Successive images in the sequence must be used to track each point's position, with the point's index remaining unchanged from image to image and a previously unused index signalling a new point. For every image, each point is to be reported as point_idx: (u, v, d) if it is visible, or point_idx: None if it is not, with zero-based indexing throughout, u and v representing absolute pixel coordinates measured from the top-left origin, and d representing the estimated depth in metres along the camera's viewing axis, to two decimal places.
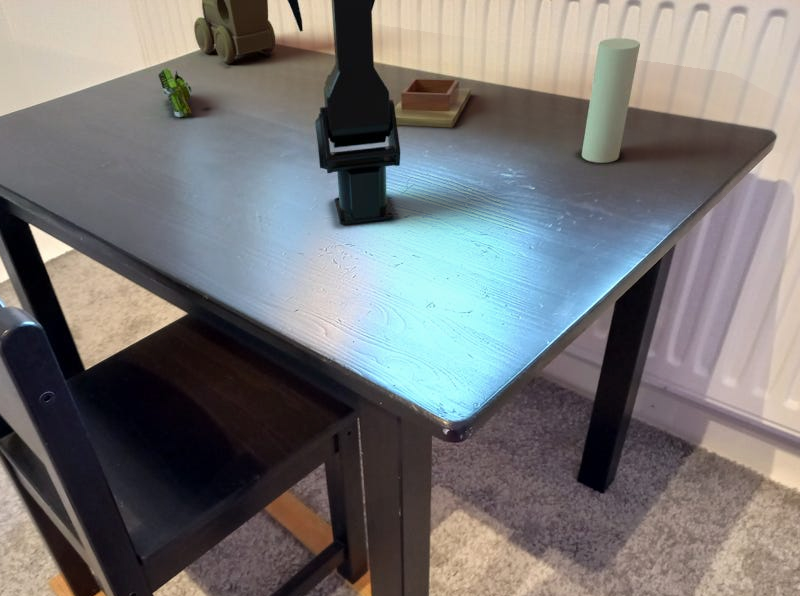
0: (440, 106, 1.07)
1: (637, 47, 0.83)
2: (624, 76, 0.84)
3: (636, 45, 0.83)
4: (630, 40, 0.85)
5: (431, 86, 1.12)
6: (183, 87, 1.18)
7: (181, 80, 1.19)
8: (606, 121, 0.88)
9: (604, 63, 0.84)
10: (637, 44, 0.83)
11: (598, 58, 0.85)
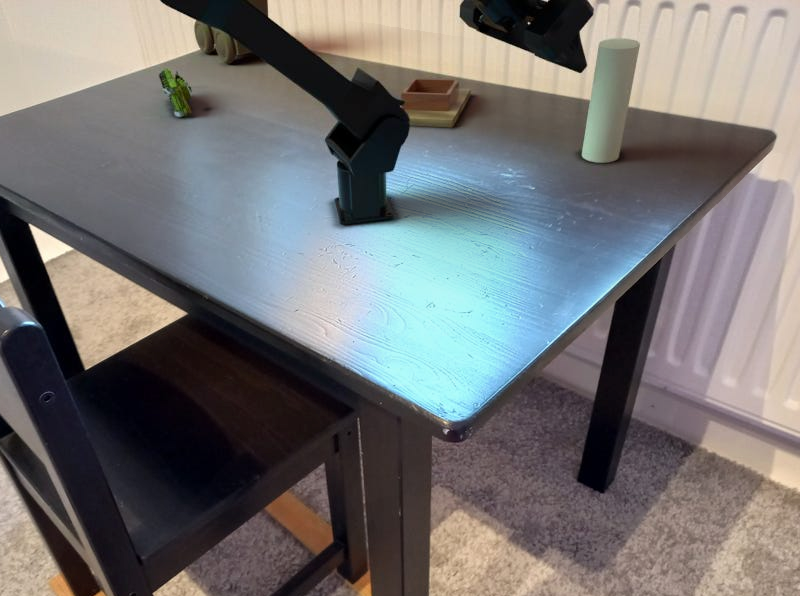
0: (440, 106, 1.07)
1: (637, 47, 0.83)
2: (624, 76, 0.84)
3: (636, 45, 0.83)
4: (630, 40, 0.85)
5: (431, 86, 1.12)
6: (183, 87, 1.18)
7: (181, 80, 1.19)
8: (606, 121, 0.88)
9: (604, 63, 0.84)
10: (637, 44, 0.83)
11: (598, 58, 0.85)
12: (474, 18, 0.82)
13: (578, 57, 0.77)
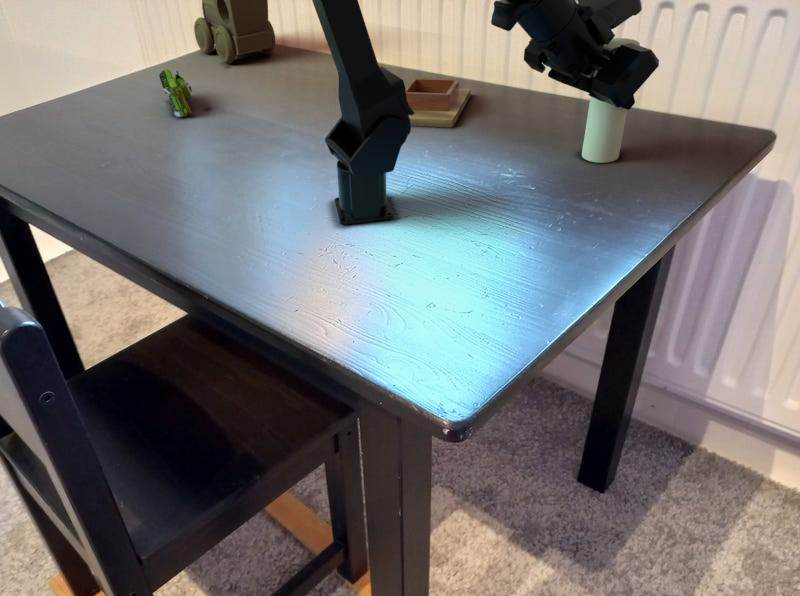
0: (440, 106, 1.07)
1: None
2: None
3: None
4: (630, 40, 0.85)
5: (431, 86, 1.12)
6: (183, 87, 1.18)
7: (181, 80, 1.19)
8: (606, 121, 0.88)
9: None
10: (637, 44, 0.83)
11: None
12: (539, 62, 0.88)
13: None
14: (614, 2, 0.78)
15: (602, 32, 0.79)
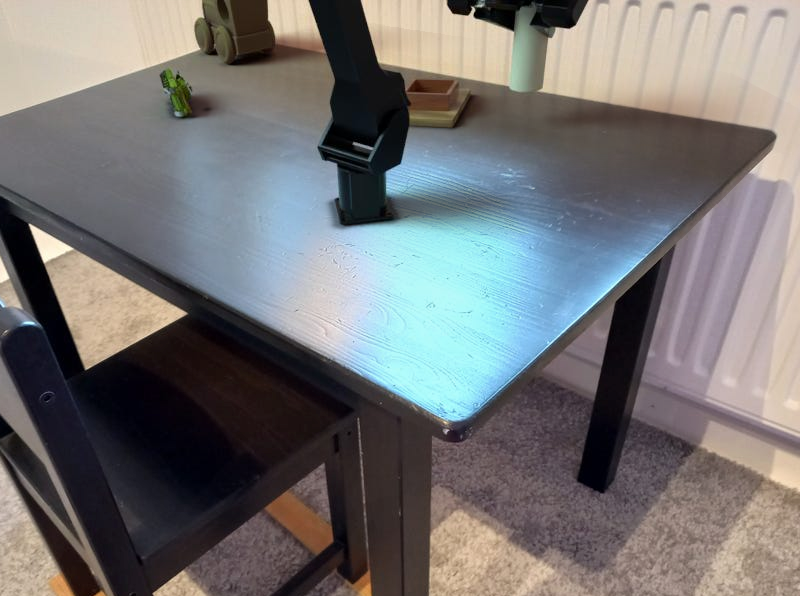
0: (440, 106, 1.07)
1: None
2: None
3: None
4: None
5: (431, 86, 1.12)
6: (184, 87, 1.18)
7: (182, 80, 1.19)
8: (535, 51, 0.95)
9: None
10: None
11: None
12: (468, 4, 0.93)
13: None
14: None
15: None
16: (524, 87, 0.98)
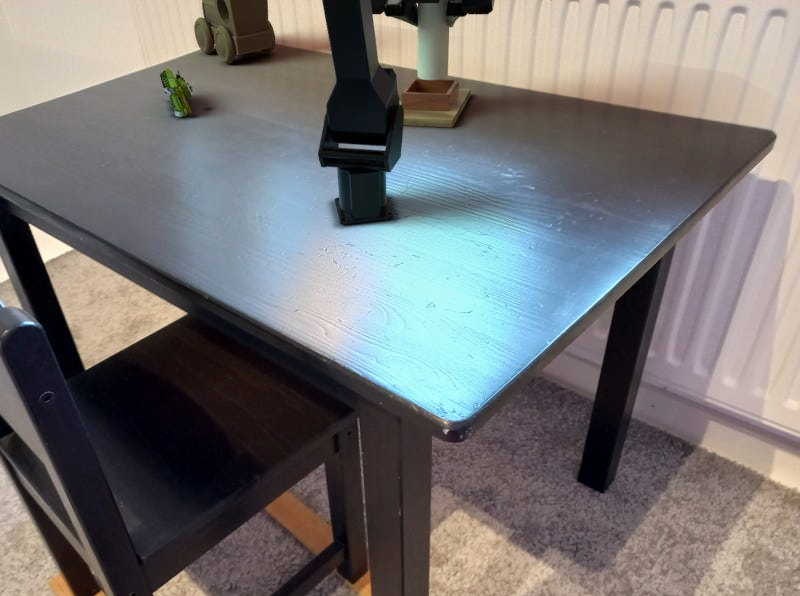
0: (440, 106, 1.07)
1: None
2: None
3: None
4: None
5: (431, 86, 1.12)
6: (184, 87, 1.18)
7: (182, 80, 1.19)
8: (443, 40, 1.03)
9: None
10: None
11: None
12: (383, 3, 0.97)
13: None
14: None
15: None
16: (436, 75, 1.06)
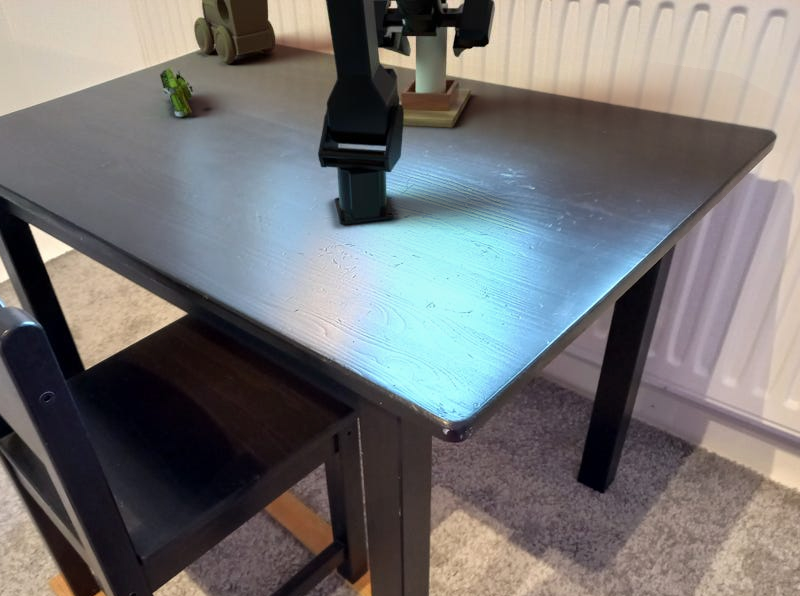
0: (440, 106, 1.07)
1: None
2: (446, 29, 1.03)
3: (446, 3, 1.02)
4: None
5: None
6: (184, 87, 1.18)
7: (182, 80, 1.19)
8: (440, 69, 1.06)
9: None
10: None
11: None
12: (382, 35, 1.00)
13: None
14: None
15: None
16: None
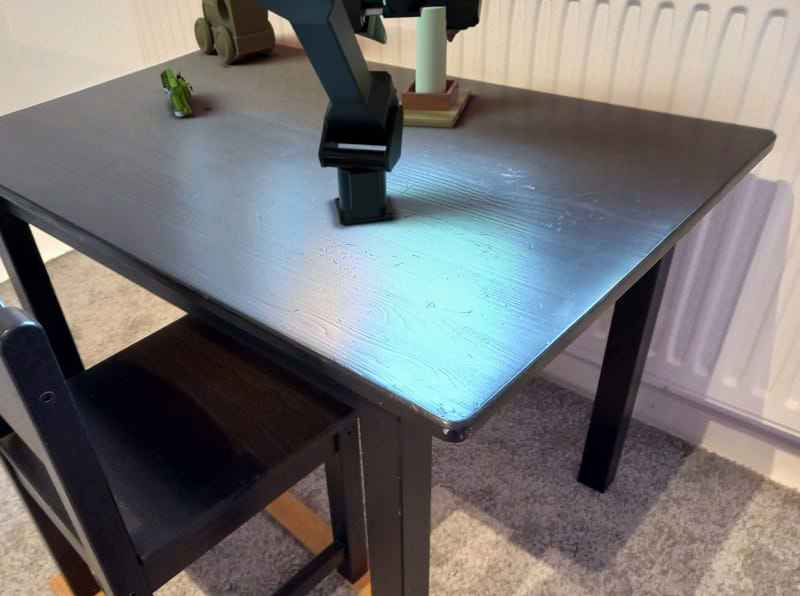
0: (440, 106, 1.07)
1: None
2: None
3: None
4: None
5: None
6: (184, 87, 1.18)
7: (182, 80, 1.19)
8: (440, 69, 1.06)
9: (432, 22, 1.01)
10: None
11: (424, 19, 1.01)
12: (360, 19, 0.90)
13: None
14: None
15: None
16: None
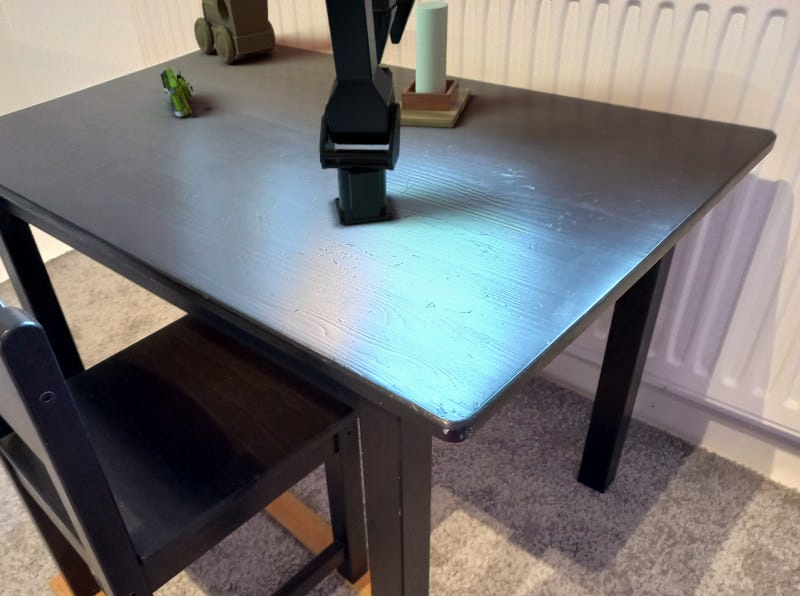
0: (440, 106, 1.07)
1: None
2: (446, 29, 1.03)
3: (445, 3, 1.02)
4: (433, 1, 1.03)
5: None
6: (184, 87, 1.18)
7: (182, 80, 1.19)
8: (440, 69, 1.06)
9: (432, 22, 1.01)
10: (444, 2, 1.02)
11: (424, 19, 1.01)
12: None
13: None
14: None
15: None
16: None
